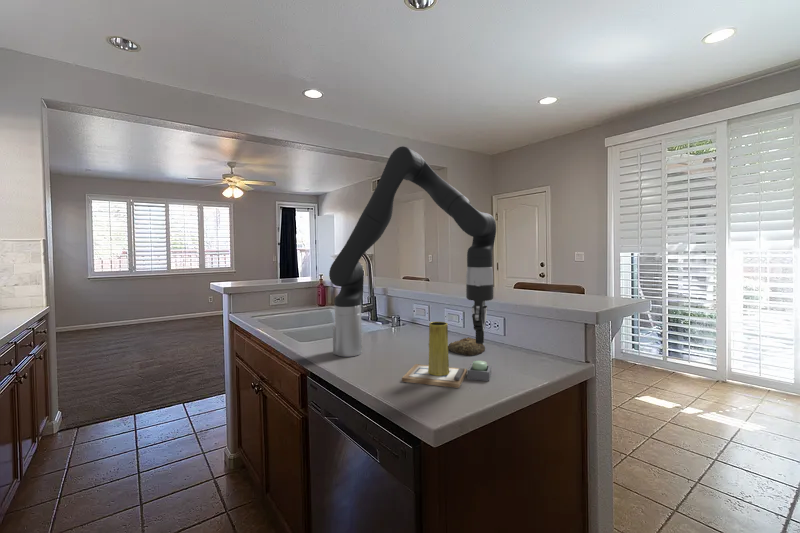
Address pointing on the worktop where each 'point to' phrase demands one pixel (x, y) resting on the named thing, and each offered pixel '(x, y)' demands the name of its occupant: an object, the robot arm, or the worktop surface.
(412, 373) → the clipboard
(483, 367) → the button
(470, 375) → the button housing
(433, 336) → the vase
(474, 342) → the bread roll
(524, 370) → the worktop surface
